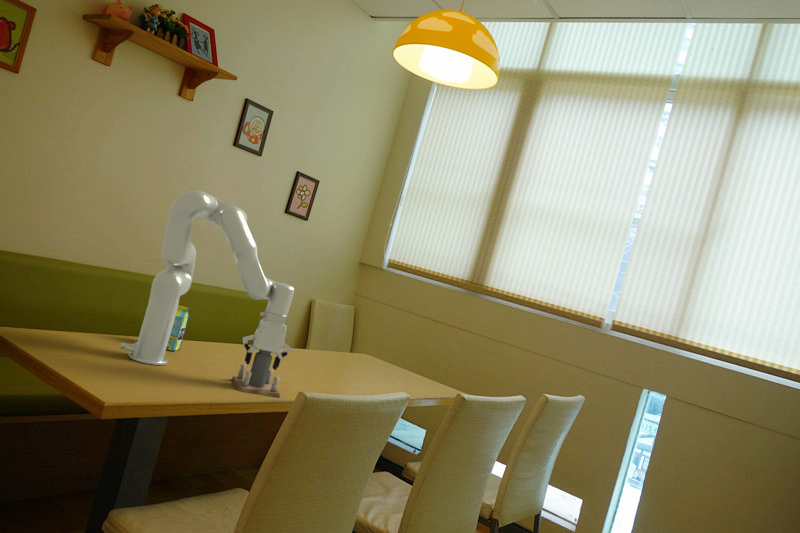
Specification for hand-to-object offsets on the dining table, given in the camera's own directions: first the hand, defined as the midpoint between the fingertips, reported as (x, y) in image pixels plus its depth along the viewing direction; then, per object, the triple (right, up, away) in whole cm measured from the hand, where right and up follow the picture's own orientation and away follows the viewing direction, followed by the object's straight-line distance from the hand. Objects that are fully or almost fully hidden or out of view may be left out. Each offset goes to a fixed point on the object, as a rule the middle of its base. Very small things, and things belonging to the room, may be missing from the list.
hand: (260, 366), depth 212 cm
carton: (-41, +3, +23) cm, 47 cm away
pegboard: (-2, -8, 0) cm, 8 cm away
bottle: (-2, -7, 0) cm, 7 cm away
